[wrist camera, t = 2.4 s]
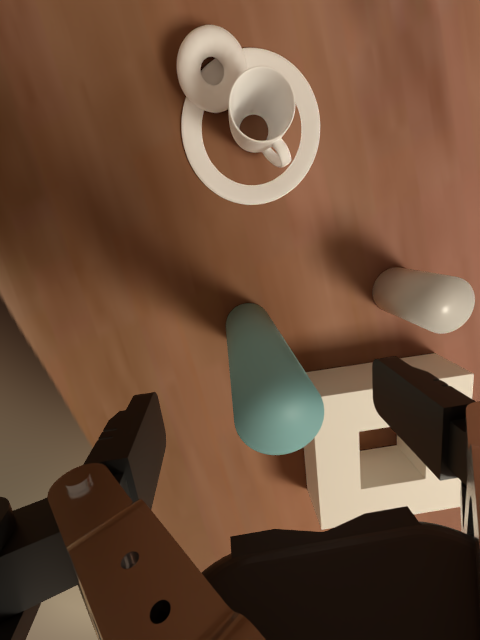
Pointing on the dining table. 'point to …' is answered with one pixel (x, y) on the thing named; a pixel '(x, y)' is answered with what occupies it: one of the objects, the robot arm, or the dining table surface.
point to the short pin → (425, 298)
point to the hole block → (374, 464)
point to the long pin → (269, 386)
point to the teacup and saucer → (245, 109)
